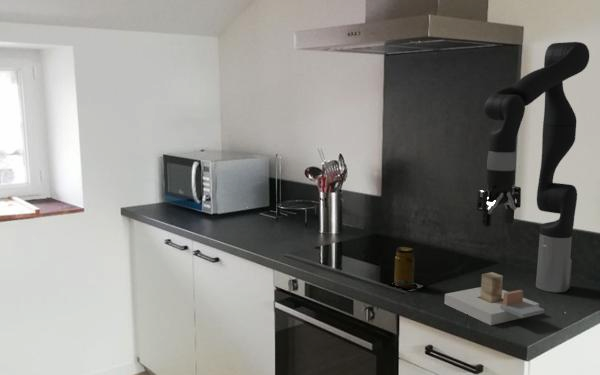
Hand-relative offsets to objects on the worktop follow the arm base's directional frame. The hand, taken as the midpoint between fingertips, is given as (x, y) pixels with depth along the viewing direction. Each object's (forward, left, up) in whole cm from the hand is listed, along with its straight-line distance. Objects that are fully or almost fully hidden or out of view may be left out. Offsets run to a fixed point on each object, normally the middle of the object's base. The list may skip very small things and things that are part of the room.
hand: (498, 224), depth 168 cm
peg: (+2, +1, -24) cm, 24 cm away
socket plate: (+2, +1, -24) cm, 24 cm away
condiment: (+11, -26, -24) cm, 37 cm away
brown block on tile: (+2, +12, -21) cm, 24 cm away
